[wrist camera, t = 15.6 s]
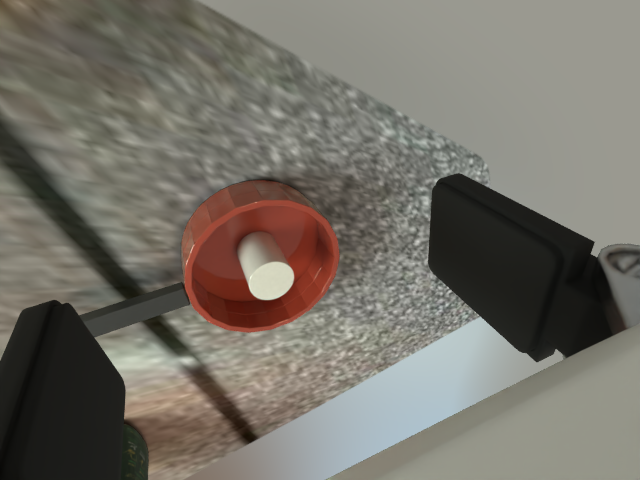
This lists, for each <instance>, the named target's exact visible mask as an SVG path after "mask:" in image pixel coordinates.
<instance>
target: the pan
mask: <svg viewBox="0 0 640 480" xmlns="http://www.w3.org/2000/svg"><path fill="white" fill-rule="evenodd" d="M253 232H266V233H269V234H270V235H272V236H273V237H274V238H275V240H276V242H277V243H278V245H279V247H280V249H281V250H282V252H283V254H284V256H285V258H286V259H287V261H288V263H289V265H290V266H291V268H292V270H293V272H294V281H293V284H292V286H291V288H290V289H289V290H288V291H287V292H286V293H285V294H284V295H282V296H280V297H278V298H276V299H272V300H262V299H259V298H257V297H255V296H254V295H253V294H252V293H251V291H250V289H249V286H248V284H247V281H246V278H245V276H244V273H243V270H242V267H241V265H240V262H239V259H238V257H237V247H238V244H239V243H240V241H241V240H242V239H243V238H244V237H245V236H247V235H248V234H250V233H253ZM338 262H339V248H338V239H337V237H336V235H335V233H334V231H333V229H332V227H331V225H330V224H329V222H328V220H327V219H326V218H325V217H324V216H323V215H322V213H321V212H320V211H319V210H318V209H317V208H316V207H315V206H314V204H313V203H312V202H311V201H310V200H308V199H307V198H306V197H305V196H304V195H303V194H302V193H300V192H299V191H298V190H296V189H294V188H292V187H290V186H288V185H286V184H282V183H279V182H275V181H269V180H254V181H246V182H241V183H237V184H234V185H231V186H229V187H226V188H224V189H222V190H220V191H218V192H217V193H215V194H214V195H212V196H211V197H209V198H208V199H207V200H206V201H205V202H203V203H202V204H201V206H200V207H199V208H198V209H197V210H196V211H195V212H194V214H193V215H192V217H191V218H190V220H189V222H188V224H187V226H186V228H185V231H184V234H183V238H182V242H181V263H182V270H183V278H184V285H185V290H186V292H187V295H188V297H189V299H190V301H191V304H192V306H193V308H194V309H195V310H196V311H197V312H198V313H199V314H201V315H202V316H203V317H204V318H205V319H206V320H207V321H208V322H210V323H212V324H214V325H217V326H219V327H221V328H224V329H226V330H231V331H240V332H248V333H249V332H257V331H264V330H271V329H274V328H277V327H279V326H282V325H284V324H287V323H290V322H292V321H294V320H295V319H297V318H298V317H300V316H301V315H303V314H304V313H306V312H307V311H309V310H310V309H311V308H312V307H313V306H314V305H315V304H316V303H317V302H318V301H319V300H320V299H321V298H322V297H323V296H324V295H325V293H326V292H327V290H328V288H329V286H330V285H331V283H332V281H333V279H334V277H335V275H336V271H337V266H338Z"/></svg>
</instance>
